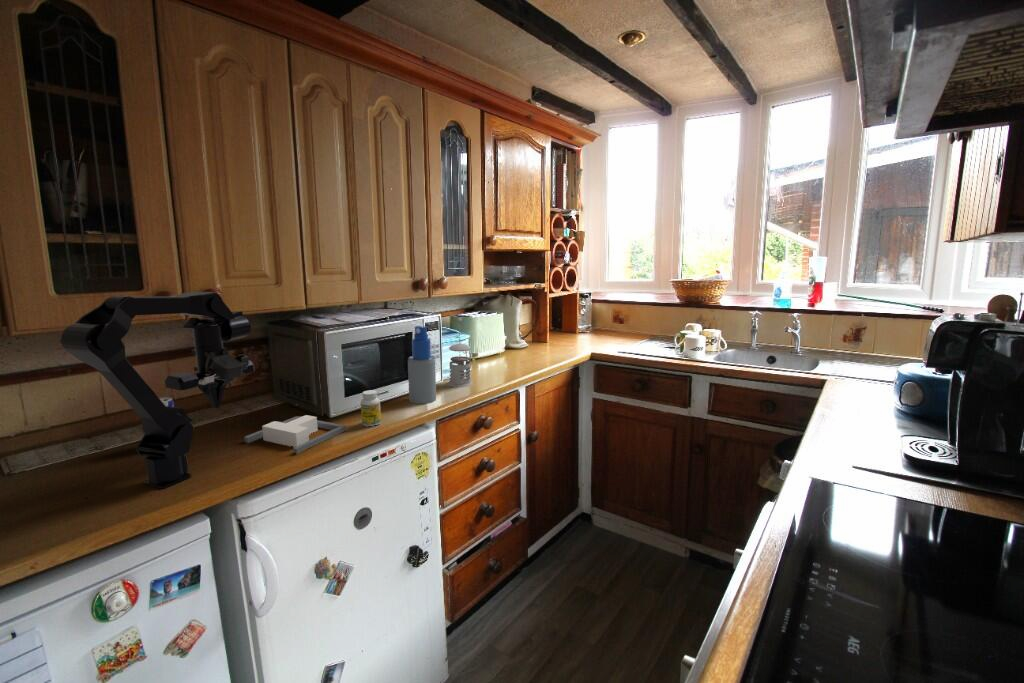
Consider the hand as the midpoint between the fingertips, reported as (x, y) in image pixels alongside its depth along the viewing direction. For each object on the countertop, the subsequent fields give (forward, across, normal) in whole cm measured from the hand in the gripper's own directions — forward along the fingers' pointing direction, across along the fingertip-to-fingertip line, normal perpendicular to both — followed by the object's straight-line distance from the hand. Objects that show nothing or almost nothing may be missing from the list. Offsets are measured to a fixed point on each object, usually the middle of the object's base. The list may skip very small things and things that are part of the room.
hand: (216, 407), depth 118 cm
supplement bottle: (+12, +32, -20) cm, 40 cm away
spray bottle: (+12, +57, -21) cm, 62 cm away
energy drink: (+12, -2, +18) cm, 22 cm away
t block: (+12, +16, -8) cm, 21 cm away
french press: (+12, +80, -23) cm, 84 cm away
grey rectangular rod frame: (+12, +16, -8) cm, 22 cm away
